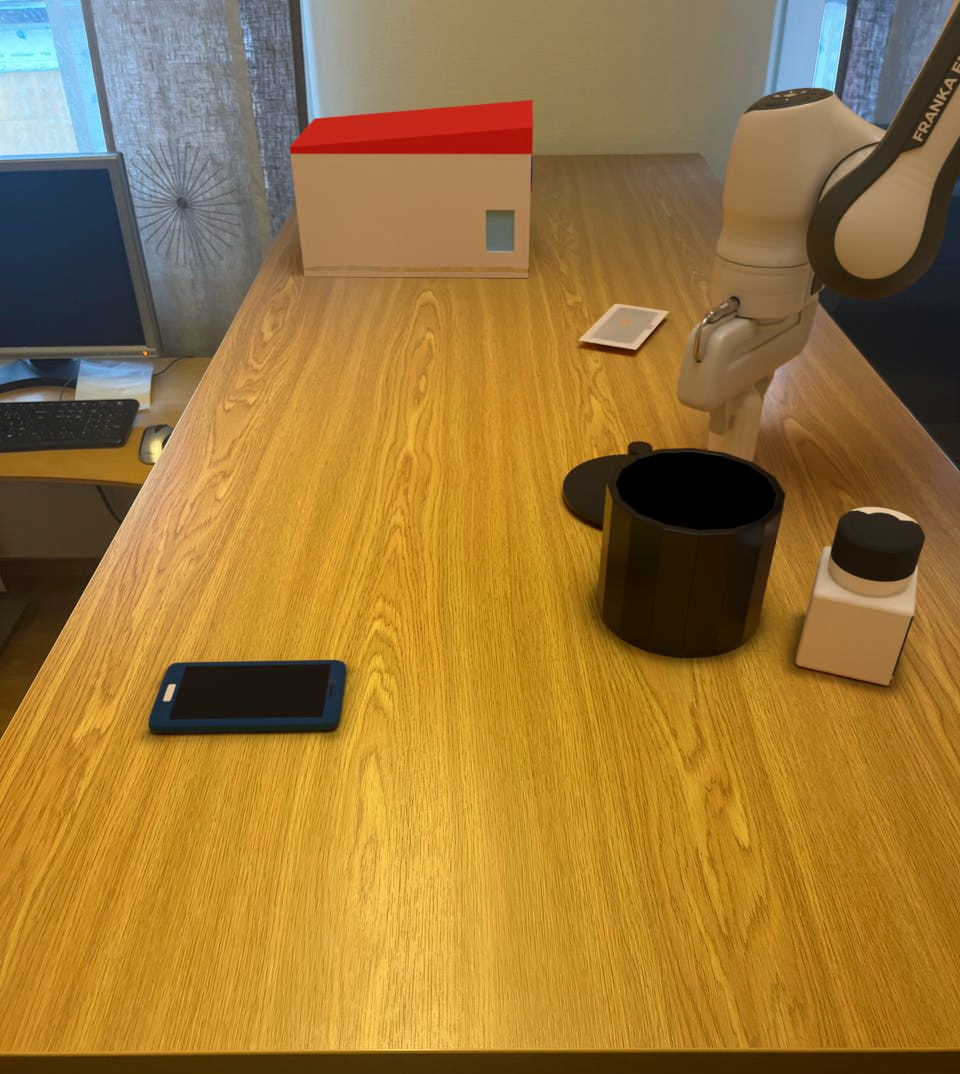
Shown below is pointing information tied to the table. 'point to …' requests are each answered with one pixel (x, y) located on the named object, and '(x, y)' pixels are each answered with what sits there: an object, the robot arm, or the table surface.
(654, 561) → the tin
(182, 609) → the table surface
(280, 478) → the table surface
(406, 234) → the bookstore
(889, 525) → the medicine bottle
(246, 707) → the cell phone
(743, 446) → the eye dropper bottle
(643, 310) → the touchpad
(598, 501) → the tin lid
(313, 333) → the table surface
